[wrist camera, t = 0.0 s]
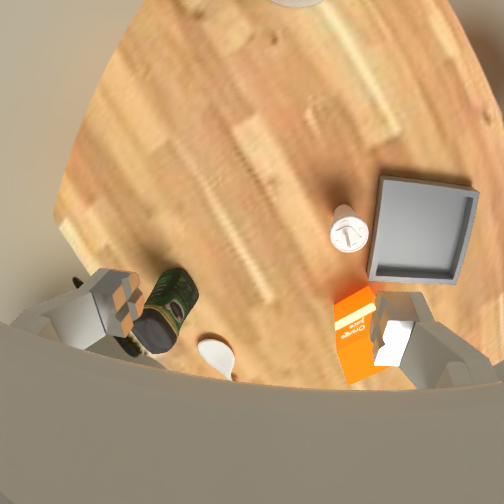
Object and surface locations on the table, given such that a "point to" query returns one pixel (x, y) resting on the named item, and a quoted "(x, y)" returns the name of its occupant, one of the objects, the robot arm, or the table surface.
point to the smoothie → (348, 230)
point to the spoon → (217, 356)
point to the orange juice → (356, 335)
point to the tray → (420, 230)
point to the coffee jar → (165, 311)
